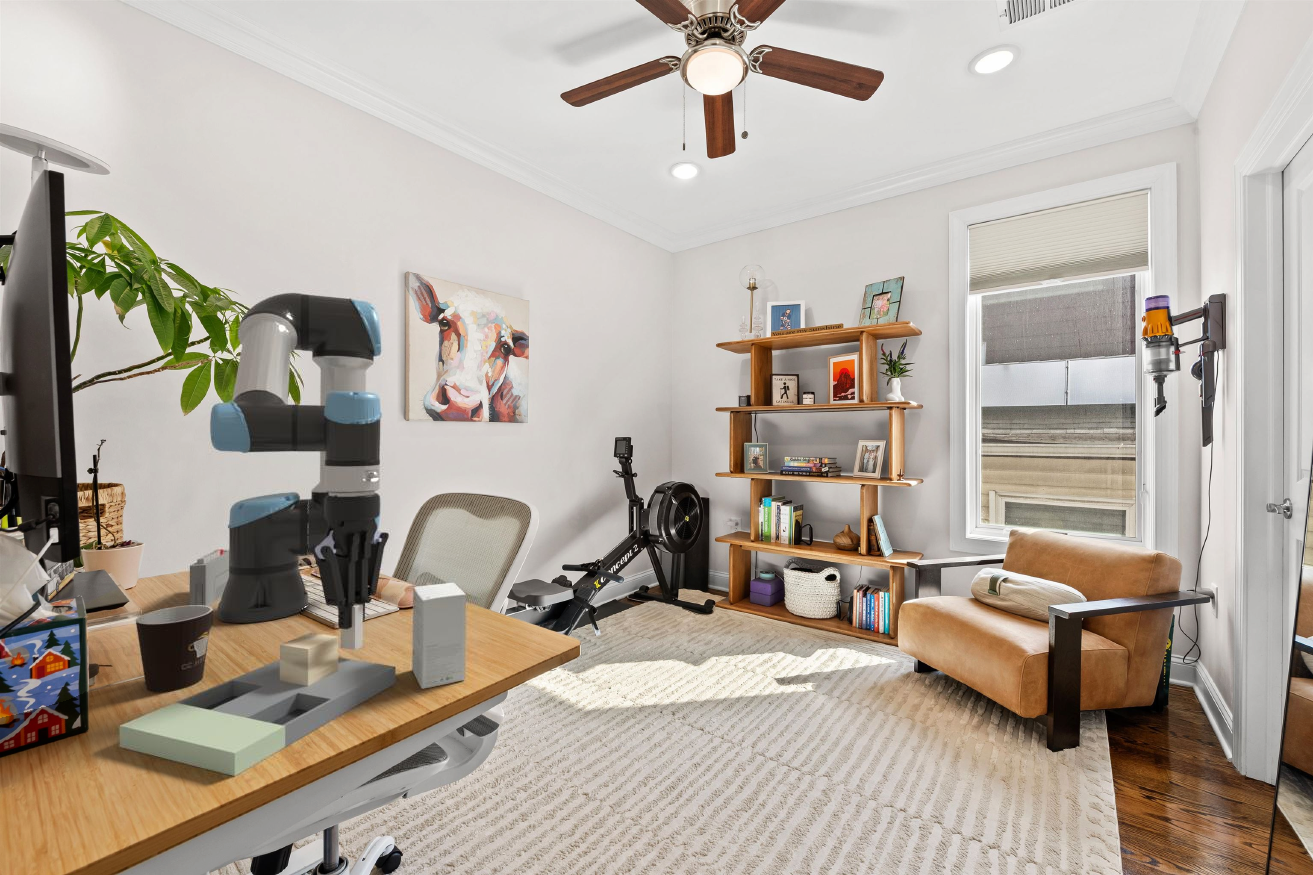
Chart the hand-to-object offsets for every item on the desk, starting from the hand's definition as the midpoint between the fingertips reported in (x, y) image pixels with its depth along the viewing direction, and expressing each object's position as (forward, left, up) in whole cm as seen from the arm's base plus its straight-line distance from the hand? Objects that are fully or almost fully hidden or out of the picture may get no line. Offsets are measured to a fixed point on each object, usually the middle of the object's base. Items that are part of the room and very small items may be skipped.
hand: (351, 646), depth 89 cm
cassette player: (-21, -57, -4) cm, 61 cm away
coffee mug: (+9, -21, -4) cm, 23 cm away
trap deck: (+13, 0, -4) cm, 13 cm away
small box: (-4, +13, -4) cm, 14 cm away
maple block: (+7, 0, -1) cm, 8 cm away
